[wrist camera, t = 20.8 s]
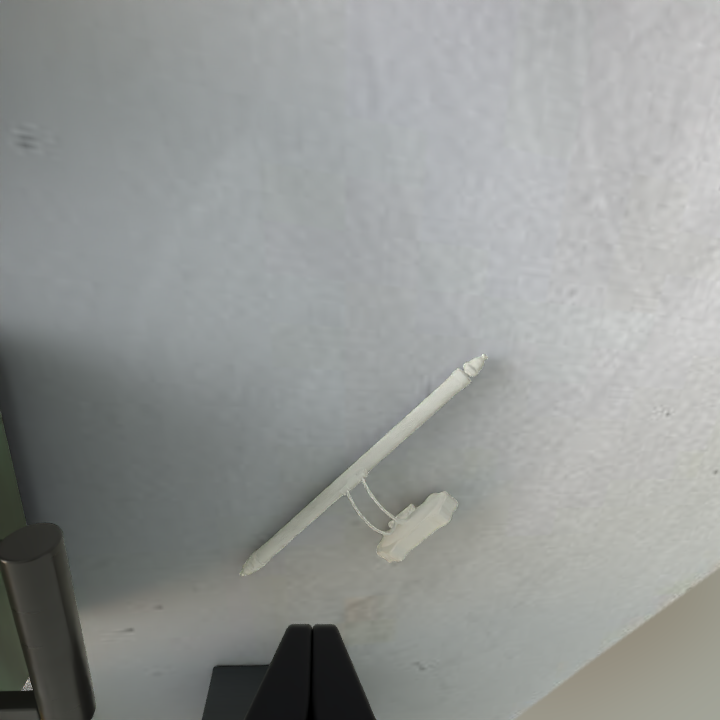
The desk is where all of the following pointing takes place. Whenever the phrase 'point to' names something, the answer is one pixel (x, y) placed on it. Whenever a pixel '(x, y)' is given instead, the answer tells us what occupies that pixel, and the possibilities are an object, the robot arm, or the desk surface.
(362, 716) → the robot arm
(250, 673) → the card box
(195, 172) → the desk surface
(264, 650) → the desk surface
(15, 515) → the drawer
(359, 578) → the desk surface
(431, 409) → the picture light
